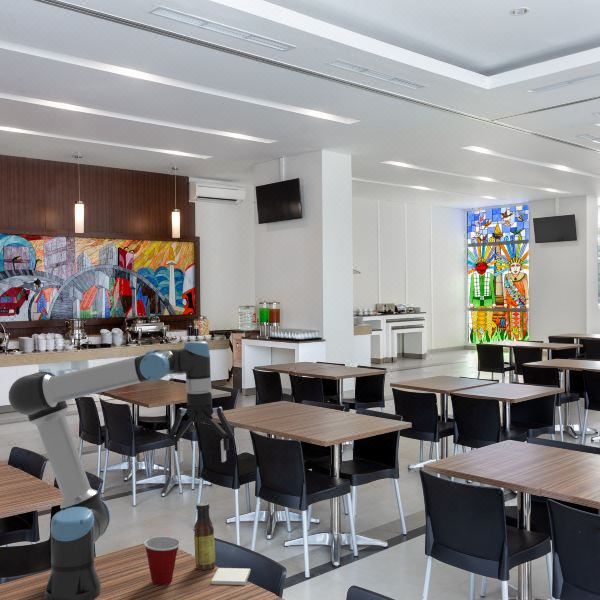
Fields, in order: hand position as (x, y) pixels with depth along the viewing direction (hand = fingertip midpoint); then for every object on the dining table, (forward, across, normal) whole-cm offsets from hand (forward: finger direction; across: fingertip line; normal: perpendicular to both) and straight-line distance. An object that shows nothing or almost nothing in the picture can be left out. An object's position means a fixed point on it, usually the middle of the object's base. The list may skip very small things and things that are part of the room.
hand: (202, 461), depth 212 cm
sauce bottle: (+35, +3, -6) cm, 35 cm away
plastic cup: (+34, +12, +6) cm, 37 cm away
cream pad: (+35, -8, +1) cm, 36 cm away
